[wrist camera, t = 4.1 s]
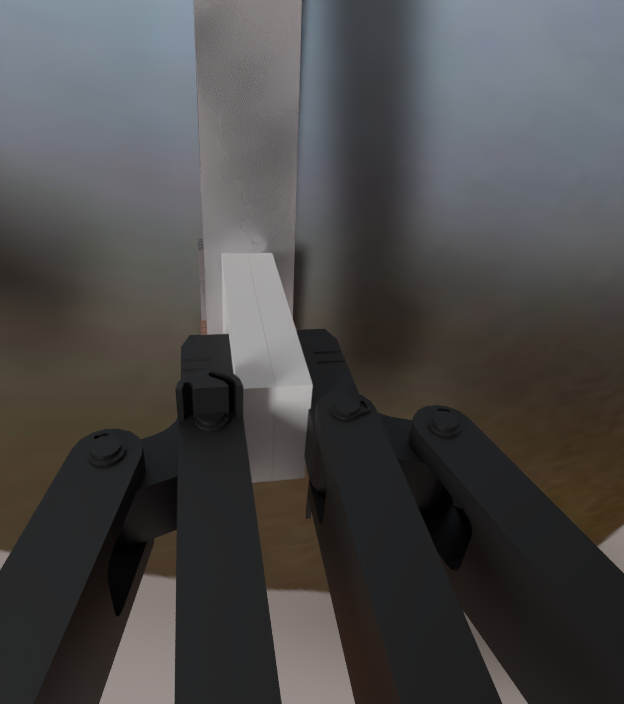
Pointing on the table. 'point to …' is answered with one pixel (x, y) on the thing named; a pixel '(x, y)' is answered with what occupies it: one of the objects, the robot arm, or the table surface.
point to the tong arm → (247, 136)
